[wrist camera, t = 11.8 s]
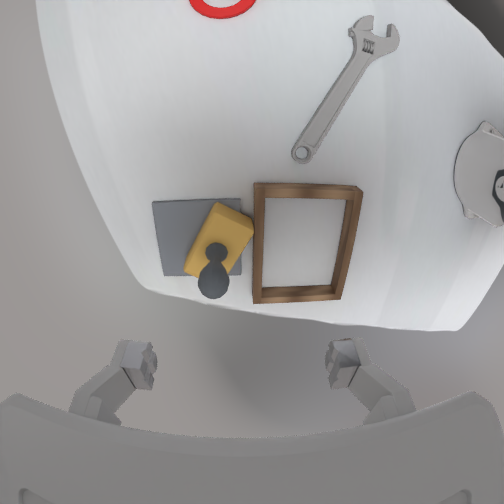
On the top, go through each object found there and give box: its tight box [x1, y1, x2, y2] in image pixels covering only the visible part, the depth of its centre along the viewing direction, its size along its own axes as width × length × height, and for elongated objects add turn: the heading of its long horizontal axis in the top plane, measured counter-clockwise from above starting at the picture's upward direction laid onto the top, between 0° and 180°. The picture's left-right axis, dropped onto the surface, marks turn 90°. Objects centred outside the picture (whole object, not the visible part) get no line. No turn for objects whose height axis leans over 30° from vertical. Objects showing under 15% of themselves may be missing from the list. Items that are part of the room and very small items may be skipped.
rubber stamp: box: [183, 202, 254, 299], centre depth 33 cm, size 10×6×12 cm, turn 150°
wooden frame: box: [252, 183, 363, 304], centre depth 39 cm, size 14×18×2 cm
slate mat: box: [152, 199, 241, 276], centre depth 39 cm, size 12×12×1 cm
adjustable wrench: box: [292, 15, 400, 164], centre depth 28 cm, size 25×6×2 cm, turn 147°
